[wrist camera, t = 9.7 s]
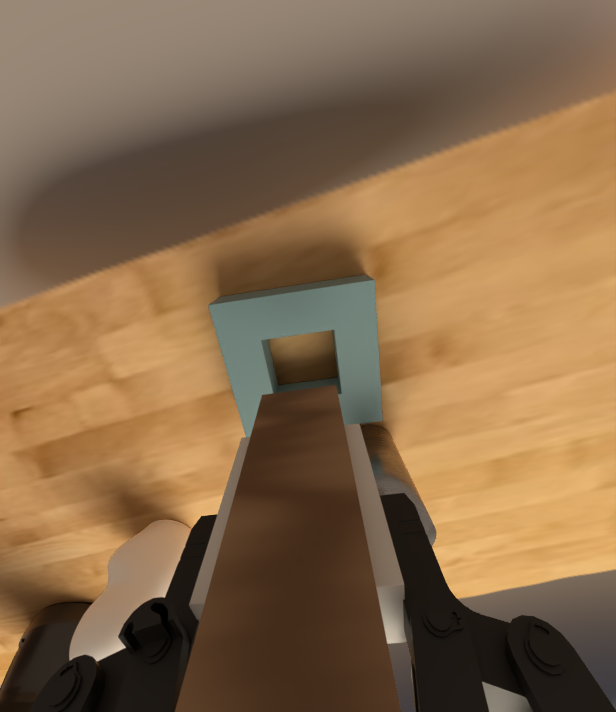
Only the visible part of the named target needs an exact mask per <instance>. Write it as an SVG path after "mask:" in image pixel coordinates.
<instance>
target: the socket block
mask: <svg viewBox="0 0 616 712" xmlns="http://www.w3.org/2000/svg"><path fill="white" fill-rule="evenodd" d="M208 307H209V310H210V314H211V317H212V321H213V324H214V328H215V331H216V335H217V338H218V341H219V345H220V348H221V352H222V355H223V359H224V362H225V366H226V369H227V373H228V376H229V380H230V383H231V387H232V390H233V394H234V397H235V400H236V404H237V407H238V411H239V414H240V418H241V421H242V425H243V428H244V432H245V435H246V438H247V437H251V433H252V429H253V426H254V422H255V418H256V415H257V411H258V408H259V404H260V400H261V397H262V395H264V394H272V393H279V392H287V391H294V390H302V389H309V388H317V387H324V386H332V385H336V387H337V392H338V397H339V402H340V407H341V412H342V417H343V422H344V425H350V424H358V423H359V424H363V423H370V422H378V421H383V418H382V401H381V383H380V366H379V348H378V331H377V313H376V296H375V280H374V279H372V278H371V277H369V276H368V275H359V276H353V277H346V278H340V279H333V280H327V281H320V282H314V283H307V284H301V285H294V286H288V287H281V288H275V289H268V290H262V291H255V292H249V293H242V294H236V295H229V296H223V297H219V298H217V299H216V300H215V301H213V302H212V303H211V304H209V305H208ZM329 330H332V331H333V340H334V348H335V356H336V364H337V373H338V377H337V378H330V379H322V380H315V381H308V382H300V383H293V384H286V385H278V382H277V377H276V373H275V368H274V364H273V359H272V354H271V350H270V345H269V340H268V339H274V338H280V337H287V336H294V335H301V334H308V333H315V332H322V331H329Z"/></svg>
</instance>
